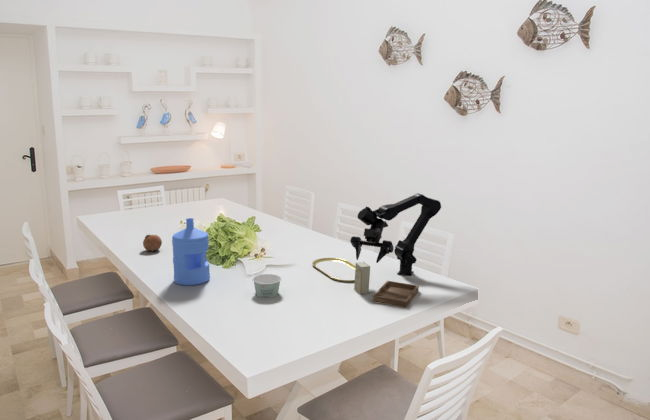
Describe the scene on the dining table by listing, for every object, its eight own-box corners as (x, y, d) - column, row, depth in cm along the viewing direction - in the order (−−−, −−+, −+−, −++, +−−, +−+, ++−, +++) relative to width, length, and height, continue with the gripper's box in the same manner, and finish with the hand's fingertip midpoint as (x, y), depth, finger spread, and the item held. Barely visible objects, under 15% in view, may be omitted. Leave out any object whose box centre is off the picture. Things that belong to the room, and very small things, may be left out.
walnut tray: (387, 286, 223) (387, 280, 222) (418, 291, 217) (418, 285, 217) (372, 301, 205) (372, 295, 204) (406, 307, 199) (406, 301, 199)
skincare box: (353, 289, 218) (354, 262, 216) (363, 288, 220) (364, 261, 217) (359, 294, 212) (360, 266, 210) (369, 293, 214) (370, 265, 211)
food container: (254, 299, 205) (254, 284, 203) (250, 289, 216) (250, 274, 215) (283, 297, 208) (283, 282, 206) (278, 287, 219) (278, 272, 218)
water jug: (166, 282, 223) (163, 220, 217) (191, 272, 236) (188, 213, 230) (193, 288, 216) (190, 224, 210) (217, 277, 229) (215, 217, 223)
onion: (145, 257, 267) (135, 241, 264) (156, 248, 275) (146, 232, 272) (158, 253, 263) (148, 237, 260) (168, 243, 271) (159, 228, 268)
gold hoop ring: (339, 286, 223) (339, 282, 223) (306, 263, 253) (306, 260, 253) (375, 280, 231) (375, 276, 231) (338, 258, 262) (339, 256, 262)
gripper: (352, 218, 224) (342, 248, 216) (392, 223, 216) (383, 254, 209) (358, 231, 233) (348, 261, 225) (397, 236, 225) (388, 267, 218)
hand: (366, 260), depth 219 cm, fingers open, 9 cm apart
